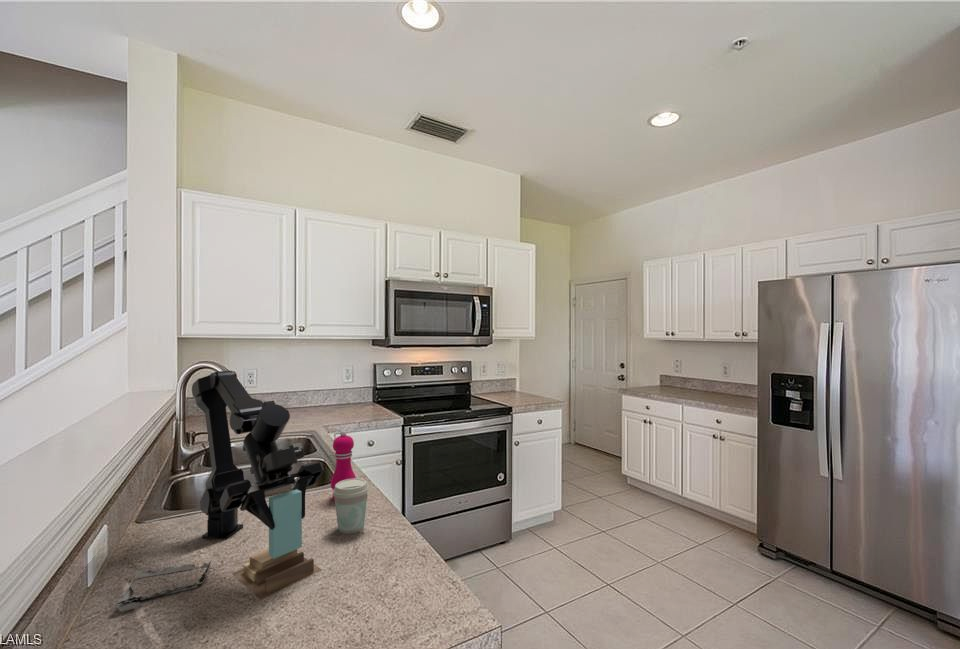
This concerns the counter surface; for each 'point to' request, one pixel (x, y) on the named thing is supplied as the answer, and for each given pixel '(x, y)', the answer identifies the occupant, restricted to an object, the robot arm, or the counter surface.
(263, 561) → the offcut stack
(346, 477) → the pepper mill
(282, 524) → the turquoise upright pillar
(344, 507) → the coffee cup
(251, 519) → the counter surface
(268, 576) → the walnut rack
